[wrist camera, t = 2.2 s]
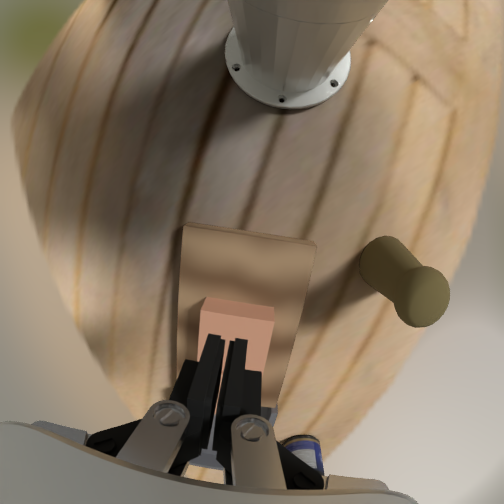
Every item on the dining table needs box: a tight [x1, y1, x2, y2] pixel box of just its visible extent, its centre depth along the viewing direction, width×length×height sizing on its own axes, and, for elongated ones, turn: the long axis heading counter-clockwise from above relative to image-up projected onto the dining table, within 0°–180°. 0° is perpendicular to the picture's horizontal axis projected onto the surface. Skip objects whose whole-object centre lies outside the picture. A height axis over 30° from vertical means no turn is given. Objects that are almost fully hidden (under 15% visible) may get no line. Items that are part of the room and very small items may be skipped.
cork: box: [359, 236, 450, 328], centre depth 24 cm, size 6×6×11 cm
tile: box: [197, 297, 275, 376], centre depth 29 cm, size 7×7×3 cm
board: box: [177, 222, 317, 408], centre depth 32 cm, size 22×13×2 cm, turn 172°
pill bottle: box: [283, 435, 324, 476], centre depth 34 cm, size 6×6×11 cm
